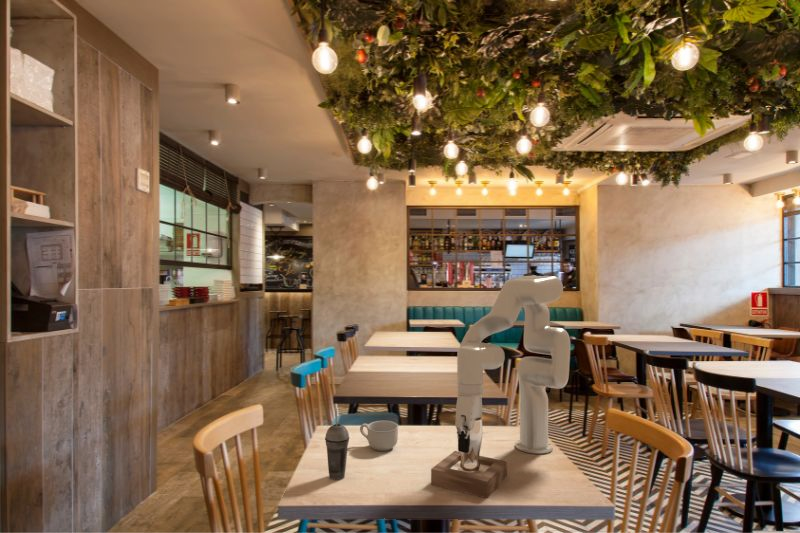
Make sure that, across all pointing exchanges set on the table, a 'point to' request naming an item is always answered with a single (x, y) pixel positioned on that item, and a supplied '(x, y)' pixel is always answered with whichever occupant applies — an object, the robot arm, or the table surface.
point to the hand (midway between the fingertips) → (469, 446)
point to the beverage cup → (337, 450)
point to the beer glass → (472, 449)
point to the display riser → (469, 475)
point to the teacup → (381, 434)
